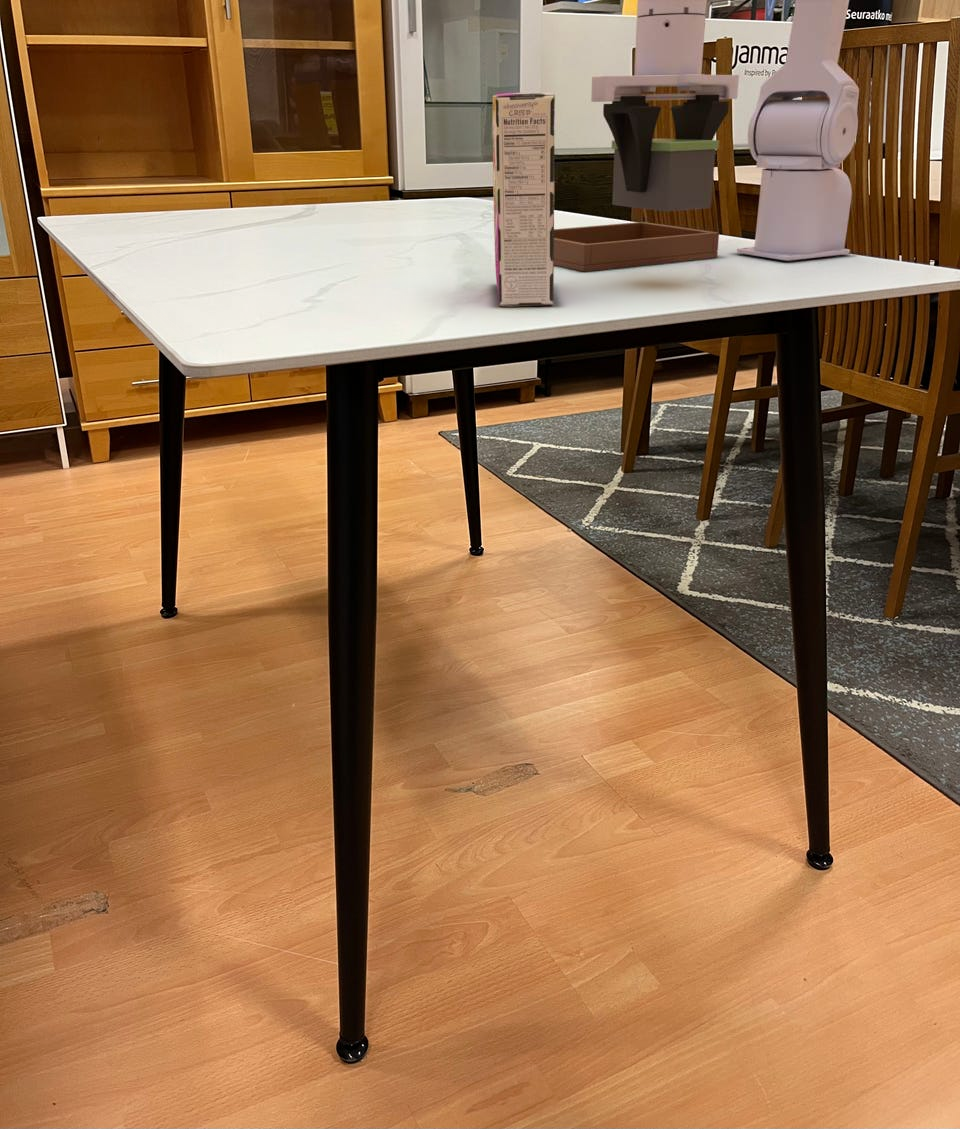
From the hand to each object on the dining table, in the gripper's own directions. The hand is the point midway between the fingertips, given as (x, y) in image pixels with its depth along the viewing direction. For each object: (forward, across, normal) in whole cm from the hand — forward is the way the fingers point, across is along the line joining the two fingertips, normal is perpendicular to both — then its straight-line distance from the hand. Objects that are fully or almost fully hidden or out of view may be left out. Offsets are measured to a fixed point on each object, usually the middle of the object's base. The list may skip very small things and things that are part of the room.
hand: (660, 189), depth 87 cm
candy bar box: (+8, -14, +2) cm, 16 cm away
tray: (+8, +8, +17) cm, 20 cm away
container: (+1, 0, 0) cm, 1 cm away
